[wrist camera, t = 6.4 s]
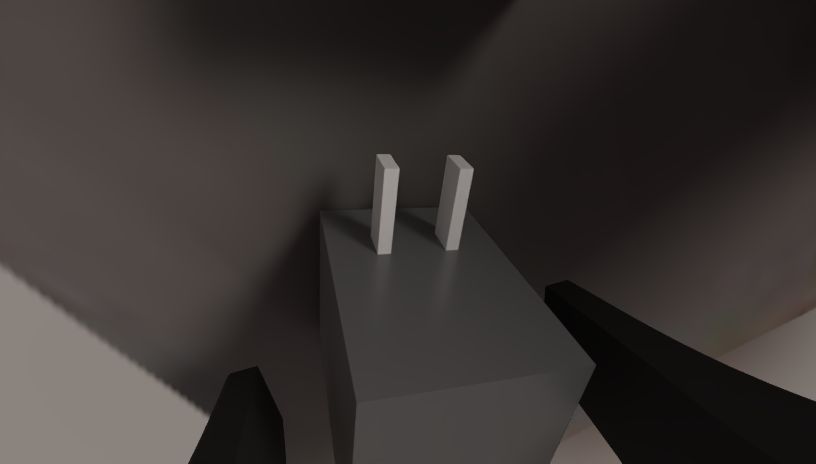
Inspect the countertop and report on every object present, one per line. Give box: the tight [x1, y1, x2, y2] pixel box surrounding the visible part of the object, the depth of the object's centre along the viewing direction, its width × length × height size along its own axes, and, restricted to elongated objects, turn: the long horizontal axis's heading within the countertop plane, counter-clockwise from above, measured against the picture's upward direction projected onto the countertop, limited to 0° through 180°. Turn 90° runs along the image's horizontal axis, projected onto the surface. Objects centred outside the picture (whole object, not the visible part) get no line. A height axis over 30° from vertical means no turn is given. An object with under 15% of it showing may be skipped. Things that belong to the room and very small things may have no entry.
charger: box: [320, 154, 596, 464], centre depth 9 cm, size 4×6×6 cm, turn 175°
